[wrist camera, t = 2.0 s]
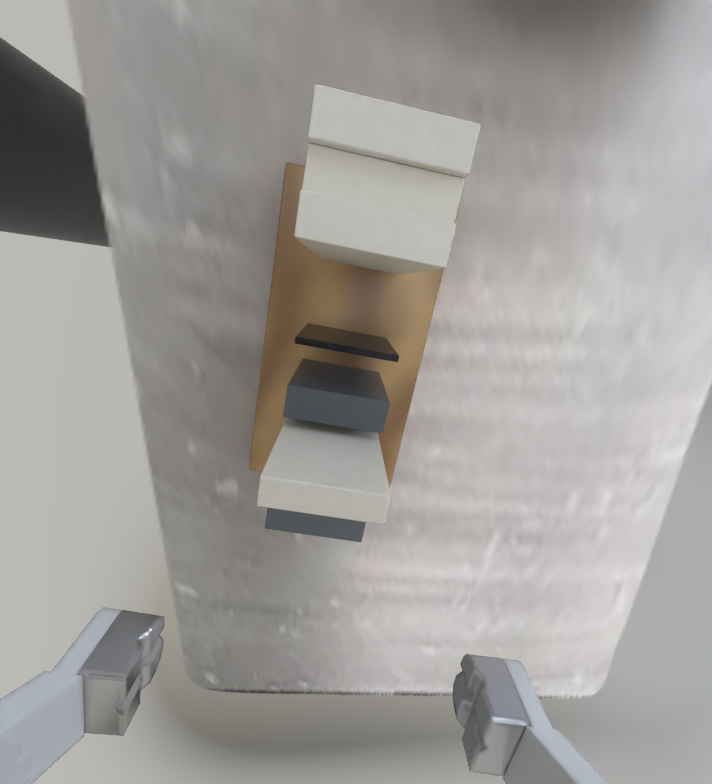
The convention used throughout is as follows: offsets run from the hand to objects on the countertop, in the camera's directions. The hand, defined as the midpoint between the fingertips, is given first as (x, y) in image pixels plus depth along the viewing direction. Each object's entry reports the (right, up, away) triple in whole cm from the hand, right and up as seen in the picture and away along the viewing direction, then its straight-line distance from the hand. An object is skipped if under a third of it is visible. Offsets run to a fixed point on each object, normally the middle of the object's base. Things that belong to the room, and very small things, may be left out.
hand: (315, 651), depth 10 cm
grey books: (-1, +5, +20) cm, 20 cm away
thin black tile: (0, +11, +18) cm, 21 cm away
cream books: (+2, +18, +16) cm, 24 cm away
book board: (0, +11, +19) cm, 22 cm away
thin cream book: (-1, +6, +19) cm, 20 cm away
